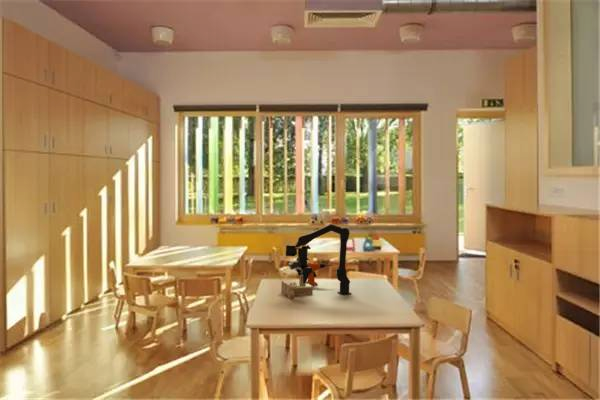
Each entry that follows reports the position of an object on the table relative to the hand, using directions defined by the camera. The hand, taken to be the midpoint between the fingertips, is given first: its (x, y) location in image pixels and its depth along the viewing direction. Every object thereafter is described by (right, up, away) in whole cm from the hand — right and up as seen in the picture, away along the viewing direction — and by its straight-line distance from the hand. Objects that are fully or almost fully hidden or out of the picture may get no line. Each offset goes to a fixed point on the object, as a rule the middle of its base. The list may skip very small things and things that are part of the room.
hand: (302, 282), depth 299 cm
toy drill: (+11, -6, +25) cm, 28 cm away
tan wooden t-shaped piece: (-2, -7, -4) cm, 8 cm away
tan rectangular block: (-5, -2, -10) cm, 12 cm away
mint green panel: (-2, -3, -1) cm, 3 cm away
